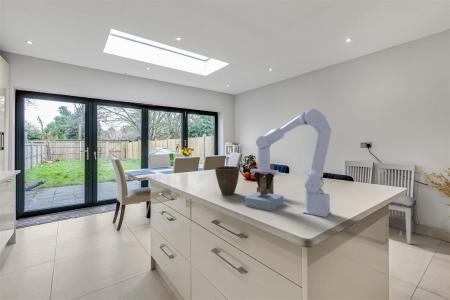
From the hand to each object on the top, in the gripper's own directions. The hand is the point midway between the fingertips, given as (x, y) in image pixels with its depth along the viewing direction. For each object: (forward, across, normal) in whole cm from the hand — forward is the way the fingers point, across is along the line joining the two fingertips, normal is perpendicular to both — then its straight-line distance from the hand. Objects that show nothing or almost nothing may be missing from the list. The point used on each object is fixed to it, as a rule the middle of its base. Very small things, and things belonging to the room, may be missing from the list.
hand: (264, 188), depth 101 cm
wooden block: (+8, -8, +17) cm, 21 cm away
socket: (+8, 0, 0) cm, 8 cm away
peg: (+3, 0, 0) cm, 3 cm away
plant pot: (+8, -28, +7) cm, 30 cm away
